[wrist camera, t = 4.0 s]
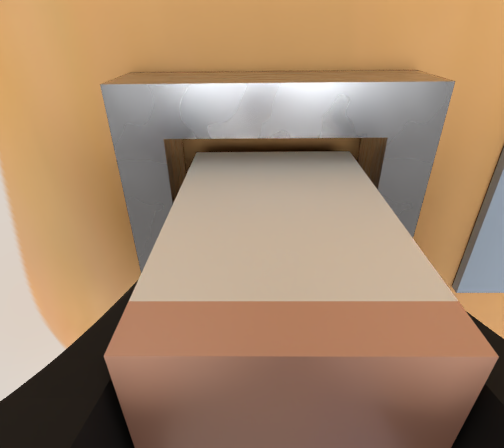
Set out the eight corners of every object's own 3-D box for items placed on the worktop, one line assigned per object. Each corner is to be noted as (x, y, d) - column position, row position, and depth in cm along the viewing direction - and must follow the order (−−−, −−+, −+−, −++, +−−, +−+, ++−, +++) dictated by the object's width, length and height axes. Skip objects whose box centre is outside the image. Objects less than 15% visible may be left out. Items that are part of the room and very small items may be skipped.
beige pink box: (332, 272, 14) (410, 525, 7) (207, 272, 14) (160, 523, 7) (349, 151, 11) (499, 356, 4) (196, 152, 11) (104, 356, 4)
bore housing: (369, 290, 16) (387, 332, 14) (167, 291, 16) (154, 332, 14) (417, 69, 11) (455, 81, 9) (129, 72, 11) (100, 84, 9)
